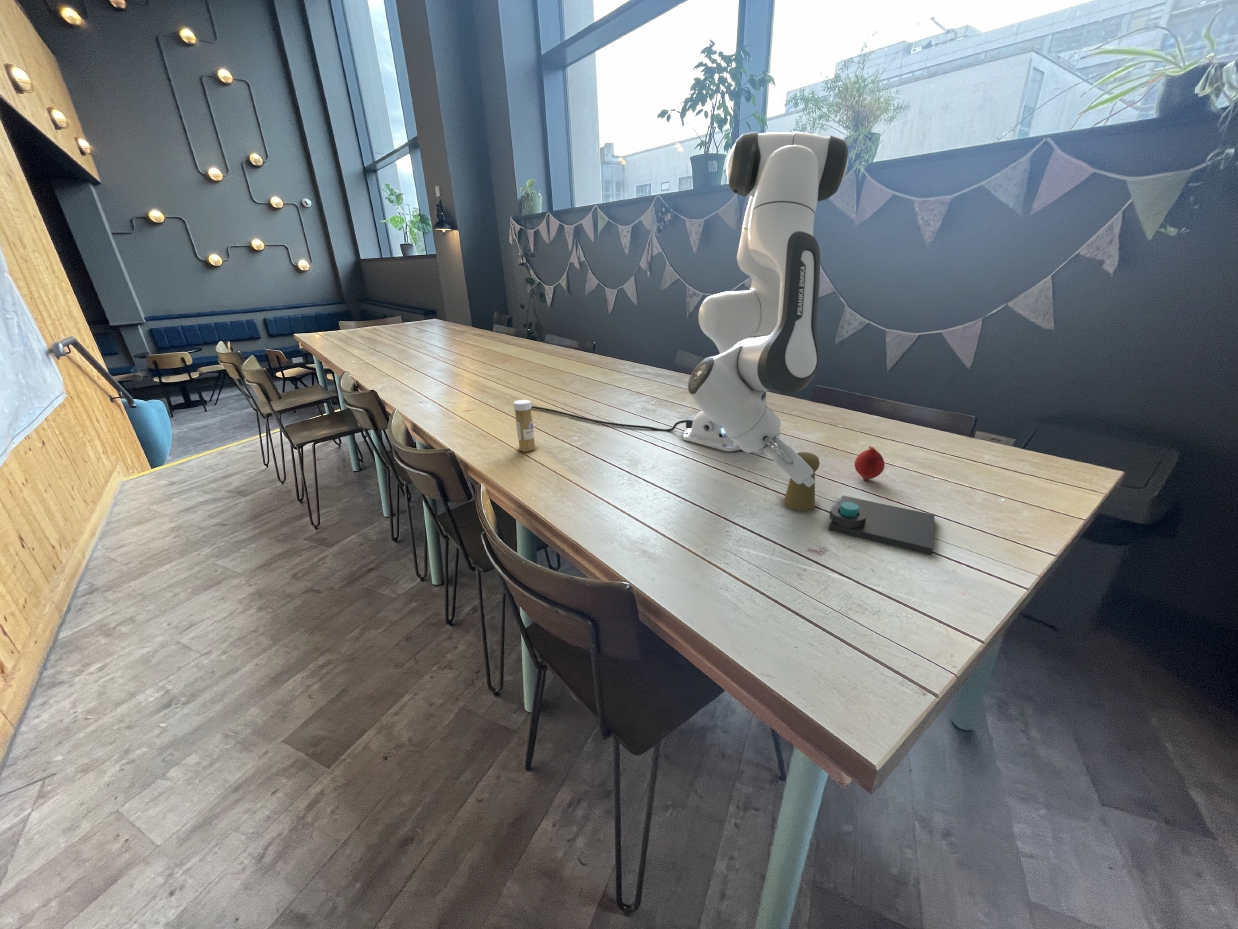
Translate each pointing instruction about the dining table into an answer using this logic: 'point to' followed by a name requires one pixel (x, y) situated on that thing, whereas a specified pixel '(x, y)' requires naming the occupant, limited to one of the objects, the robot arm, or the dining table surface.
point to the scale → (886, 525)
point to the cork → (802, 488)
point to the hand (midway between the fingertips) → (799, 472)
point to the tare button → (849, 509)
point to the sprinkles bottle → (524, 425)
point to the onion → (869, 463)
